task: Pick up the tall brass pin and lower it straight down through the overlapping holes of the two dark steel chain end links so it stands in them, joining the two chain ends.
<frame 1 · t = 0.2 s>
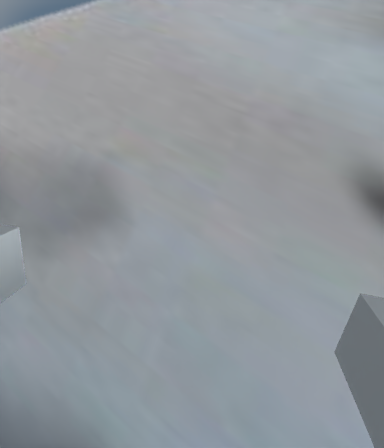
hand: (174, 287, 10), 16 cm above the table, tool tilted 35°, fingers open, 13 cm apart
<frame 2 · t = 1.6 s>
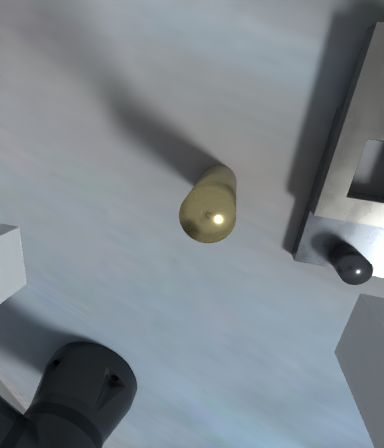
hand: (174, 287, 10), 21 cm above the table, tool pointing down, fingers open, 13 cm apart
pin: (218, 182, 30), on the table
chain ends: (371, 168, 26), on the table
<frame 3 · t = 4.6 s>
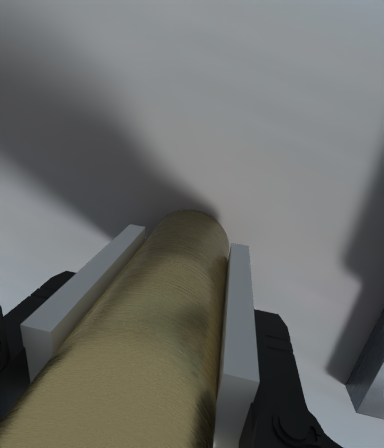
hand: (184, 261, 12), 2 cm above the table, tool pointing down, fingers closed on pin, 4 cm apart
pin: (190, 246, 14), on the table, touching gripper
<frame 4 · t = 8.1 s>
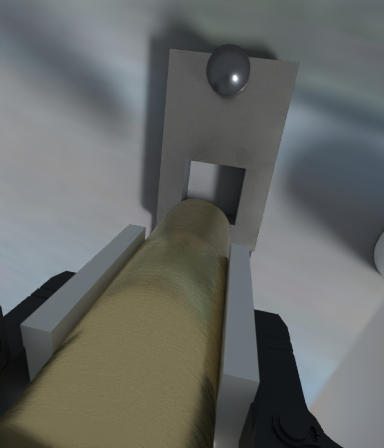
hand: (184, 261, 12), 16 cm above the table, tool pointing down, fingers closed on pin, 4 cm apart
pin: (196, 231, 15), point 12 cm above the table, touching gripper
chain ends: (214, 186, 27), on the table
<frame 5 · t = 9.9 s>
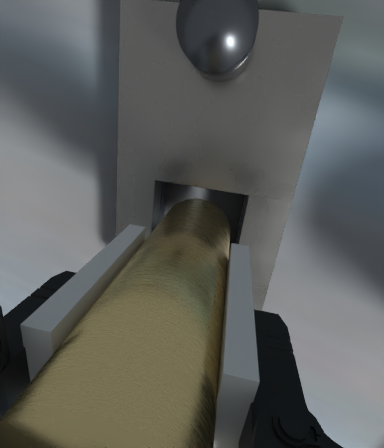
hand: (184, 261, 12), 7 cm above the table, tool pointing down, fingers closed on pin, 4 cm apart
pin: (196, 231, 15), point 3 cm above the table, touching gripper
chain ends: (201, 215, 19), on the table
when the fingers open (4 cm above the table, at t = 11.6 s): pin stays where it is, resting in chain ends.
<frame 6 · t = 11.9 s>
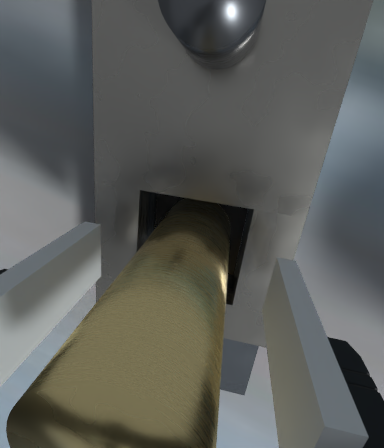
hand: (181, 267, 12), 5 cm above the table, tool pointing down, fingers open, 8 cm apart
pin: (197, 228, 16), resting in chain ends
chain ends: (197, 228, 16), on the table
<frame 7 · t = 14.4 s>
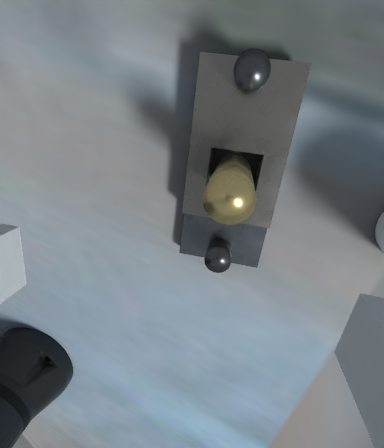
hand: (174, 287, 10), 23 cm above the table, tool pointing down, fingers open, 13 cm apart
pin: (233, 172, 31), resting in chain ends
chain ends: (233, 172, 31), on the table
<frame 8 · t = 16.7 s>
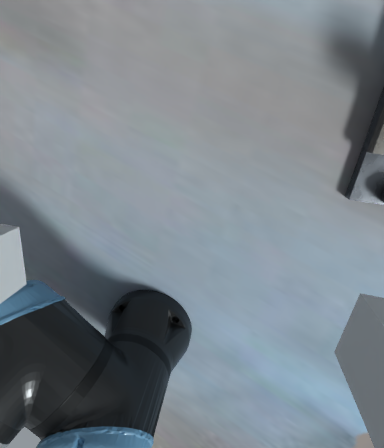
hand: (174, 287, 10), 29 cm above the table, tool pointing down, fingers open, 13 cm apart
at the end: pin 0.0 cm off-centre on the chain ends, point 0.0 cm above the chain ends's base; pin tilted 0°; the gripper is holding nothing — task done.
